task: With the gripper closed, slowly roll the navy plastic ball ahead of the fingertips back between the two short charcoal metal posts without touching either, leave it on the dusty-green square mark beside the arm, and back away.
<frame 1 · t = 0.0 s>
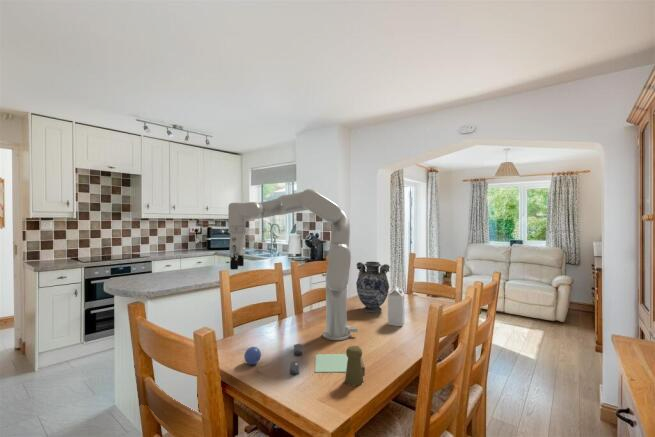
hand: (237, 267, 140), 31 cm above the table, tool pointing down, fingers open, 9 cm apart
decorative vase: (372, 310, 180), on the table
post 2: (297, 354, 121), on the table
ball: (252, 355, 113), on the table
milk carton: (396, 324, 156), on the table
olive knobbed tapered cylinder: (354, 381, 101), on the table
post 1: (294, 373, 106), on the table
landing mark: (334, 362, 114), on the table
stopper strip: (358, 362, 114), on the table
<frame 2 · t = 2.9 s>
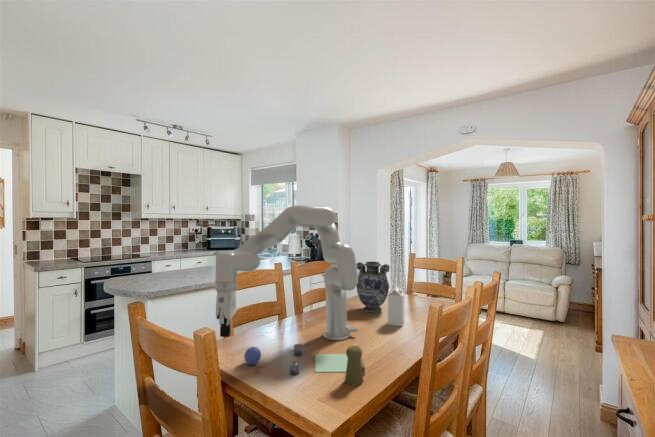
hand: (225, 335, 113), 10 cm above the table, tool pointing down, fingers closed
nothing on the table moved.
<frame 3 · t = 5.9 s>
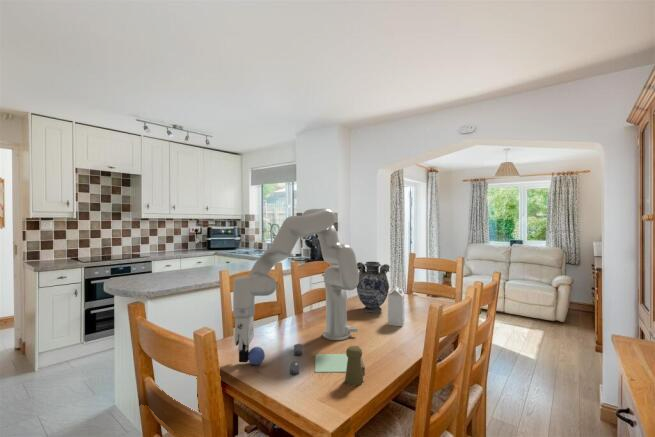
hand: (243, 361, 113), 1 cm above the table, tool pointing down, fingers closed
ball: (256, 355, 113), on the table
everything else where it was.
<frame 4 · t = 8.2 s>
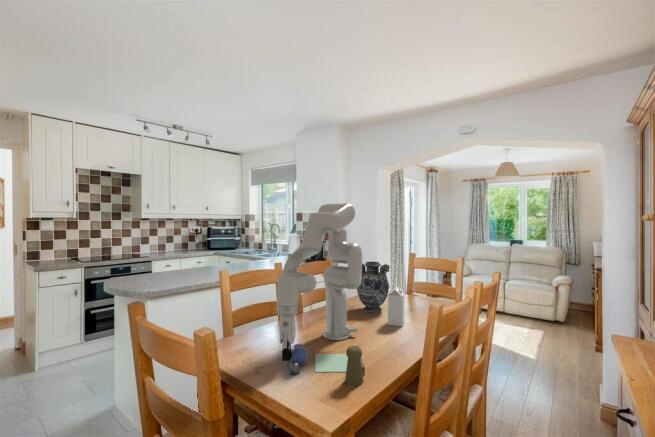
hand: (286, 359, 113), 2 cm above the table, tool pointing down, fingers closed
ball: (299, 355, 113), on the table, touching gripper
everything else where it was.
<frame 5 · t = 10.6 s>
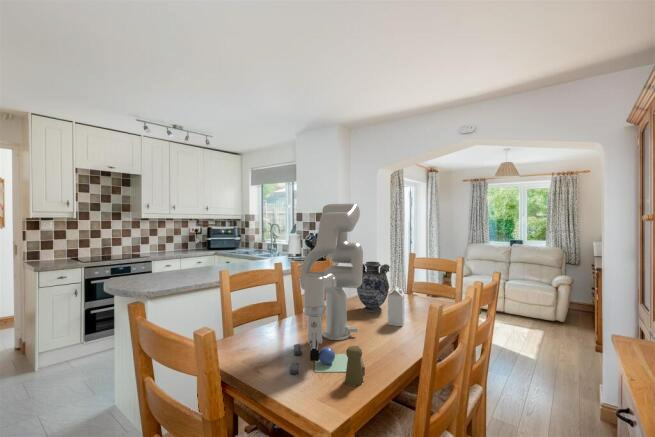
hand: (314, 359, 113), 1 cm above the table, tool pointing down, fingers closed
ball: (326, 355, 113), on the table, touching gripper
everything else where it was.
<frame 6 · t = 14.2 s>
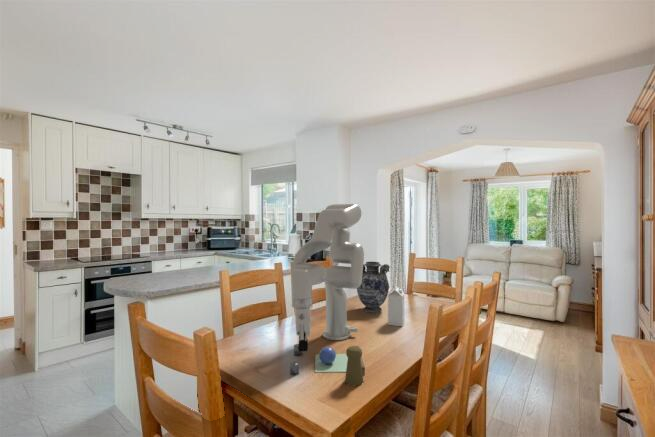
hand: (303, 350, 115), 4 cm above the table, tool pointing down, fingers closed
ball: (327, 355, 113), on the table
everything else where it was.
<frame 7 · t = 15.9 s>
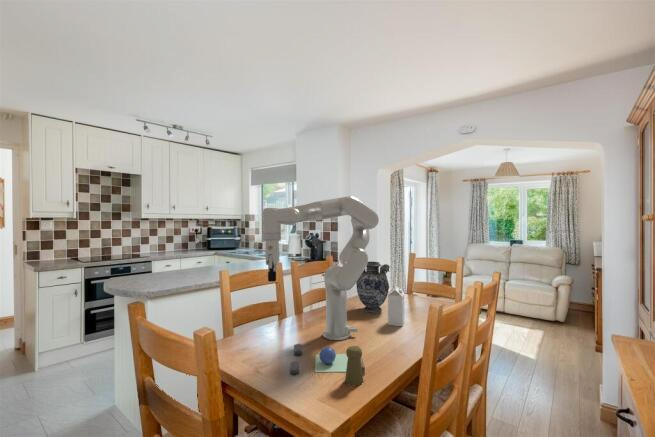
hand: (272, 280, 130), 27 cm above the table, tool pointing down, fingers closed
nothing on the table moved.
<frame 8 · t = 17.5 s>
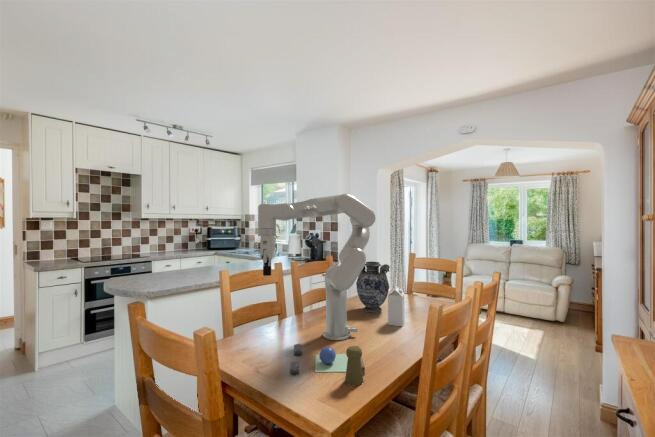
hand: (267, 275, 133), 29 cm above the table, tool pointing down, fingers closed
nothing on the table moved.
at the end: ball 2.5 cm from the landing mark (horizontally); ball never touched post 1; ball never touched post 2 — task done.
